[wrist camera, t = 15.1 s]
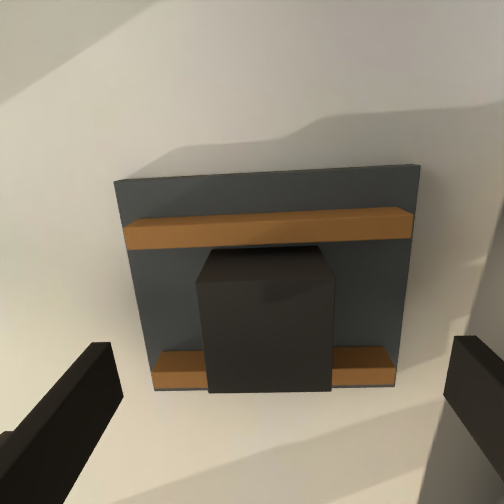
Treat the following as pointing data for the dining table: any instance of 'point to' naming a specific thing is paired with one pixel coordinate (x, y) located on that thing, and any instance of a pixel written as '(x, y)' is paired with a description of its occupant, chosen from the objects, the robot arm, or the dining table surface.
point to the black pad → (267, 320)
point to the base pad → (273, 235)
